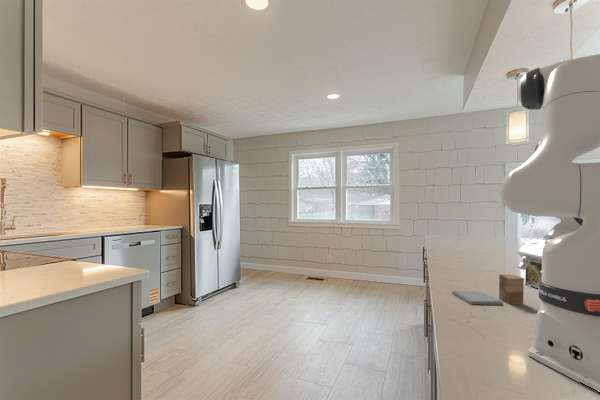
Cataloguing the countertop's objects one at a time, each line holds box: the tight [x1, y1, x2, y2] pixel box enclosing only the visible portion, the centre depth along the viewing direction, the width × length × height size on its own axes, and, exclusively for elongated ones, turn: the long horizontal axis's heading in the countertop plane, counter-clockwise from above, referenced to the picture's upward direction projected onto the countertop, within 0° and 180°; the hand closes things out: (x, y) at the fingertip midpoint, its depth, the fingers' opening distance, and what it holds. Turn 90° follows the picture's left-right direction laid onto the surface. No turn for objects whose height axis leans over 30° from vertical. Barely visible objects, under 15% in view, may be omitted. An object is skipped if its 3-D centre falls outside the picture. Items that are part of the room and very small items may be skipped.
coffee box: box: [525, 261, 542, 289], centre depth 111 cm, size 9×6×16 cm
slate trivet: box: [451, 290, 504, 306], centre depth 96 cm, size 11×10×1 cm
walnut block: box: [498, 273, 525, 305], centre depth 94 cm, size 5×5×8 cm
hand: (531, 271), depth 94 cm, fingers open, 8 cm apart
